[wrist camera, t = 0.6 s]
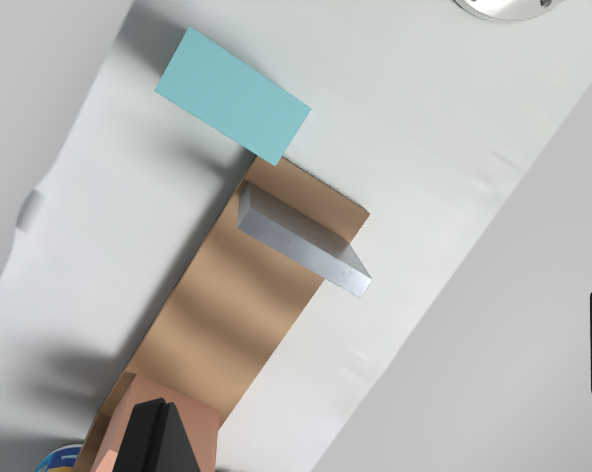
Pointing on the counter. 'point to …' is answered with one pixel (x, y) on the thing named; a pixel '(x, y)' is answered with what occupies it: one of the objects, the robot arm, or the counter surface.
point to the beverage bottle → (60, 459)
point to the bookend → (301, 239)
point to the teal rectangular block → (231, 97)
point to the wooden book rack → (230, 303)
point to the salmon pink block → (193, 414)
